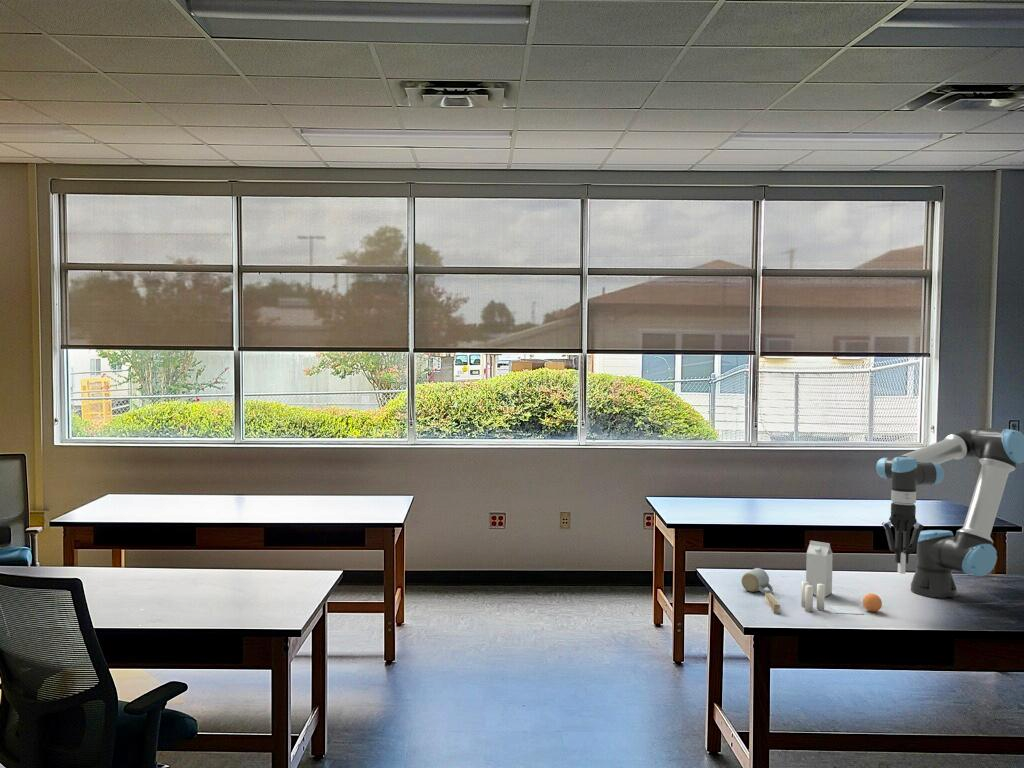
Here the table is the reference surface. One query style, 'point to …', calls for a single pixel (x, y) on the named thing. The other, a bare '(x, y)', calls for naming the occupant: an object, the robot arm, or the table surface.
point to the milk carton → (819, 566)
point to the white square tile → (845, 610)
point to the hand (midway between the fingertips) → (901, 572)
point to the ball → (872, 602)
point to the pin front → (820, 596)
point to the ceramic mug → (756, 581)
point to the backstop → (772, 603)
